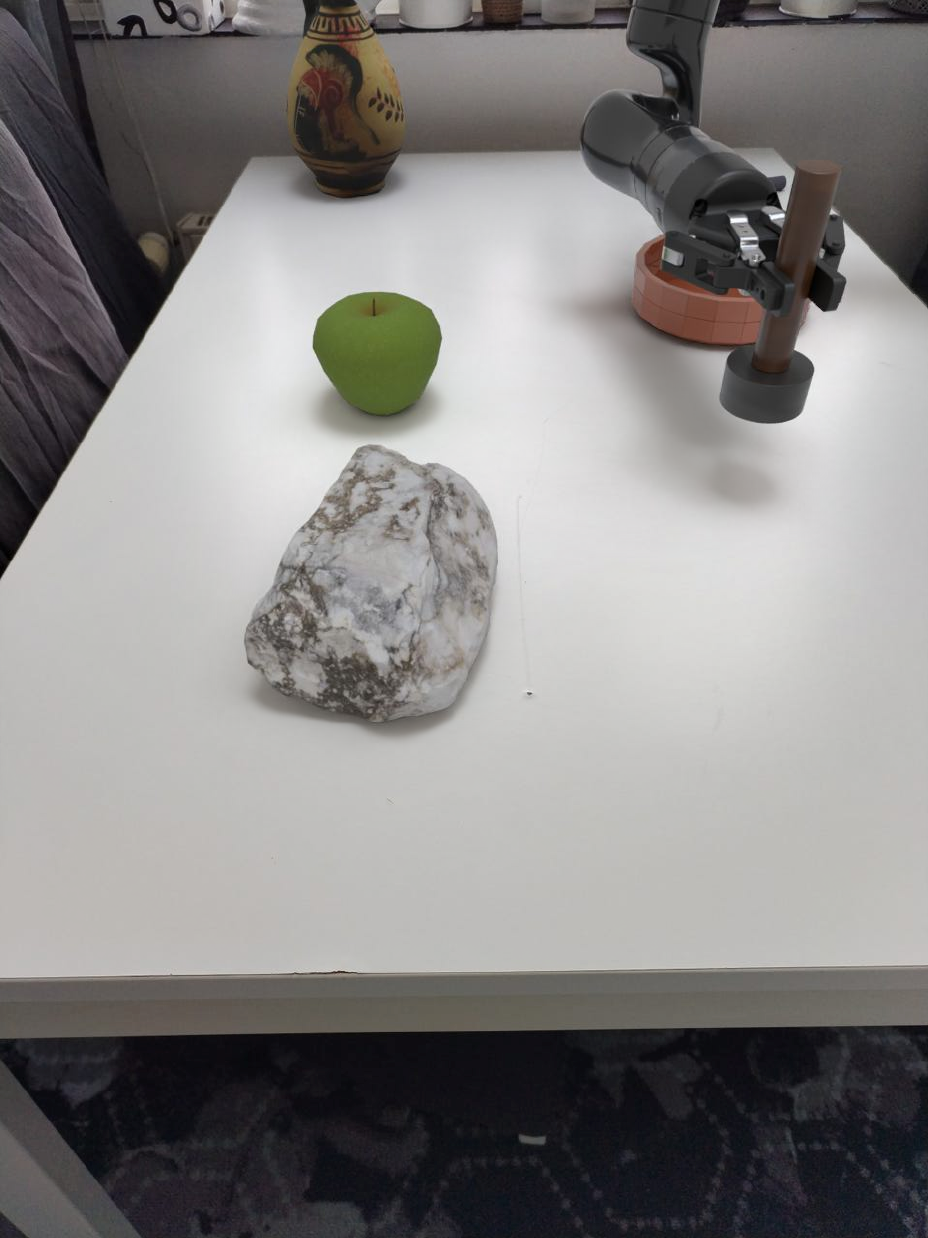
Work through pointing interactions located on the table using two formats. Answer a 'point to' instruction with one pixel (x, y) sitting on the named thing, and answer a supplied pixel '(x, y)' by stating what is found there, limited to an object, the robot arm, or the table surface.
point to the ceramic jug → (344, 101)
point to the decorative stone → (380, 592)
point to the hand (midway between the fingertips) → (811, 299)
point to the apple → (378, 349)
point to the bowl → (692, 304)
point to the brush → (771, 369)
